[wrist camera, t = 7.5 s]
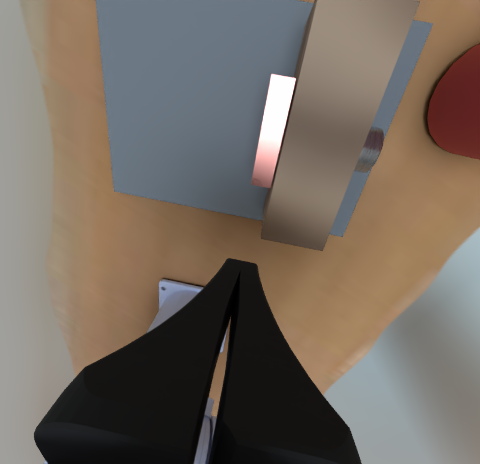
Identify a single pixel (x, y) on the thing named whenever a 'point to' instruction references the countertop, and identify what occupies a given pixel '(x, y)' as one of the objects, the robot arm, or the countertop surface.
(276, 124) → the pin
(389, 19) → the block
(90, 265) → the countertop surface
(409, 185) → the countertop surface
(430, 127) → the beer can
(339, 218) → the mat
